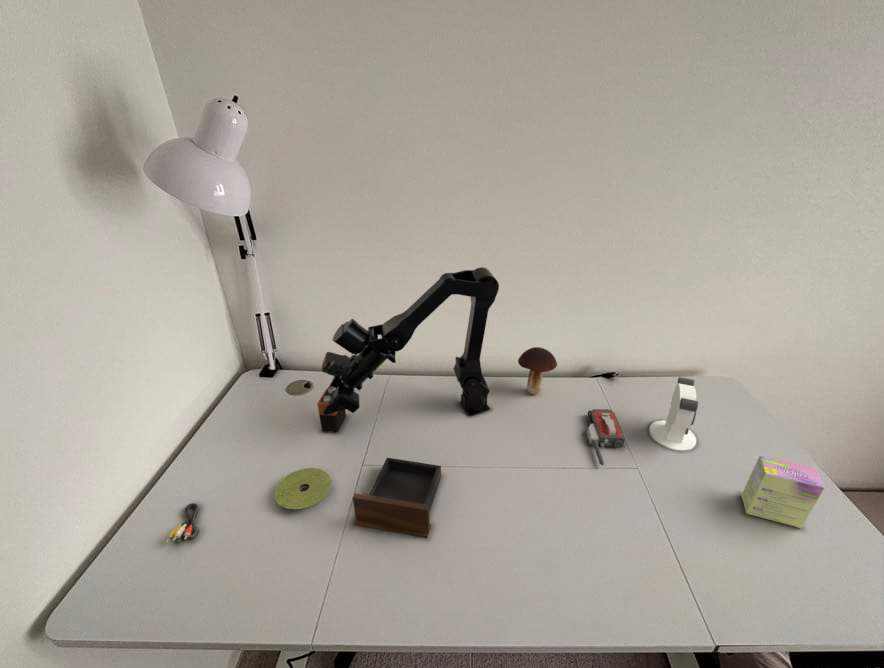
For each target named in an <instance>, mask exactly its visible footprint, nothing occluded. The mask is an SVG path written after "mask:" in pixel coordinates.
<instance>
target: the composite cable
mask: <svg viewBox="0 0 884 668" xmlns="http://www.w3.org/2000/svg"><path fill="white" fill-rule="evenodd" d="M191 509H194V510H193V514H192V515H191V512H190V510H191ZM199 509H200V508H199V505H198V504H197V503H196V502H192V503H189V504H188V505H186V507H185V508H184V513H185V516H186V518H187V520H186V521H185V522H182V523H181V524H179V525H178V526H177V527H175V528H174V529H173V530H172V531H170V533H169V534H168V536H167V539H166V540H165V543H166V544H168V543H169V541H172V542H175V540H177V539H178V540H177V543H178V544H180V543H181V542H182V541H183V540H187V539H189V540H194V539H196V538H198V536H199V534H200V529H199V526H198V525H197V524H196V518H197V515H198V512H199ZM193 526H194V527H195V529H196V530H195V532H194V533H193V534H192V532H193V531H194V529H193Z"/></svg>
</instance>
